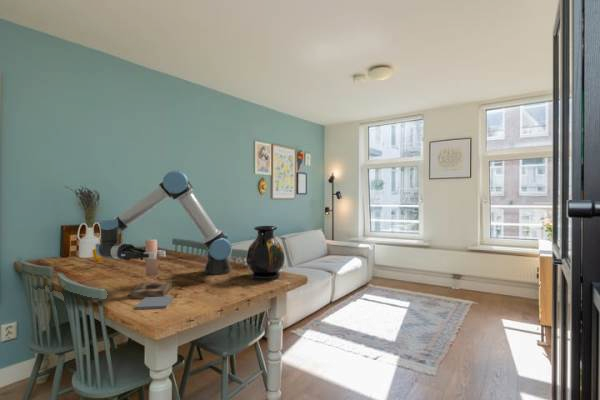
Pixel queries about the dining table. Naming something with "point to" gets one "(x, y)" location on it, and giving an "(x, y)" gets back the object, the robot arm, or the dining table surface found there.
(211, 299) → the dining table surface
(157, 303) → the slate mat
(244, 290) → the dining table surface
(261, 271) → the amphora vase
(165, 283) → the walnut pocket block
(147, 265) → the terracotta peg
